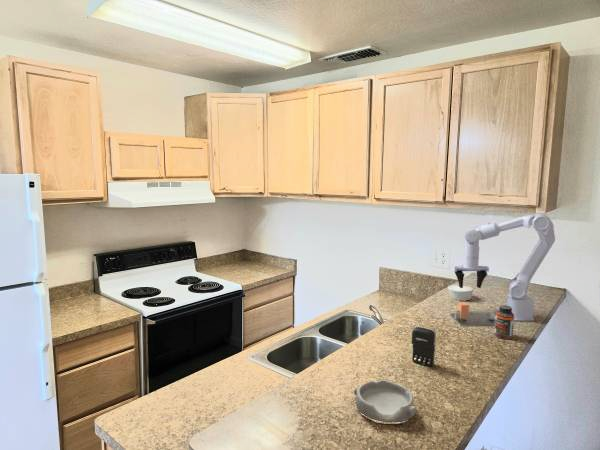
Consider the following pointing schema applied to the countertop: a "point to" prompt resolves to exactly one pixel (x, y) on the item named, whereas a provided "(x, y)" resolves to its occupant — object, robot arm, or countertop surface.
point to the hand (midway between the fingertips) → (469, 287)
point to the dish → (385, 401)
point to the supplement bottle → (504, 322)
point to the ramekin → (460, 292)
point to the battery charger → (423, 345)
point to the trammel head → (463, 309)
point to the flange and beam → (475, 318)
